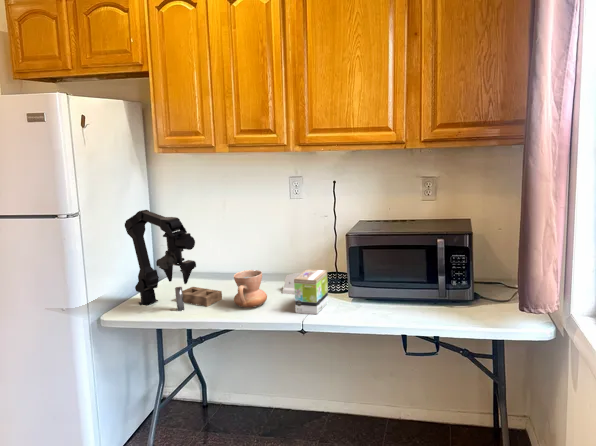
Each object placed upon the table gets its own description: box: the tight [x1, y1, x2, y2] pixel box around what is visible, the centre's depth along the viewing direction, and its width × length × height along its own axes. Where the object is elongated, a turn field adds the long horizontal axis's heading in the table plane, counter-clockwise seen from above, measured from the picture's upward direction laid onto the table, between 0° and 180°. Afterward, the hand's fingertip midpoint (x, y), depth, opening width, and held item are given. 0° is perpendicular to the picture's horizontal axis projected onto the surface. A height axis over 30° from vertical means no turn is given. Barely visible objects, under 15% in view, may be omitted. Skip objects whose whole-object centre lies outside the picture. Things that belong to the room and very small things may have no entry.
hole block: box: [182, 286, 223, 307], centre depth 247 cm, size 18×10×4 cm, turn 56°
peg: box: [174, 286, 185, 312], centre depth 236 cm, size 3×3×10 cm
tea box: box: [294, 269, 329, 315], centre depth 227 cm, size 15×10×15 cm, turn 160°
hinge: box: [282, 272, 302, 295], centre depth 249 cm, size 17×5×10 cm, turn 66°
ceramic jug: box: [233, 269, 268, 309], centre depth 235 cm, size 18×14×14 cm
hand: (177, 282), depth 234 cm, fingers open, 9 cm apart
